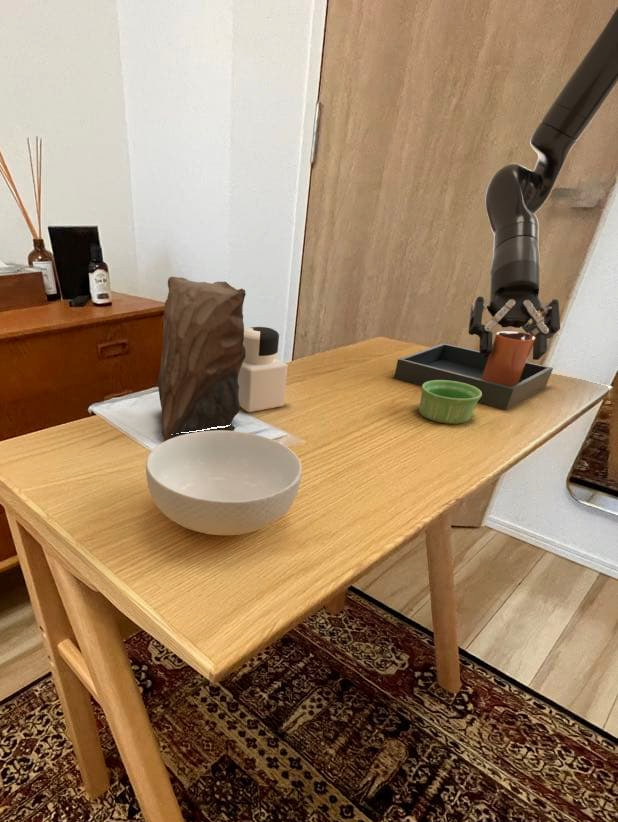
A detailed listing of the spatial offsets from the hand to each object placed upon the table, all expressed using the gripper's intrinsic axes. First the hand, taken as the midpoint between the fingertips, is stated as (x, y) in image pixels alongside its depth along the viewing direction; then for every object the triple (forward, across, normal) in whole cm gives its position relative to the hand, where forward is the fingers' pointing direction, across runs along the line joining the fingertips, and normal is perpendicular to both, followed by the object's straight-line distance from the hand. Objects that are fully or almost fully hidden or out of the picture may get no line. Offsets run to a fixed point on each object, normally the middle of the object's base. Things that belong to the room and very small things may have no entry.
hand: (512, 356), depth 86 cm
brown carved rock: (+22, -54, -12) cm, 59 cm away
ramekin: (+14, -13, -4) cm, 19 cm away
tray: (+1, -4, +8) cm, 9 cm away
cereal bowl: (+39, -45, -30) cm, 66 cm away
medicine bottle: (+14, -44, -4) cm, 46 cm away
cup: (+3, 0, +5) cm, 6 cm away
